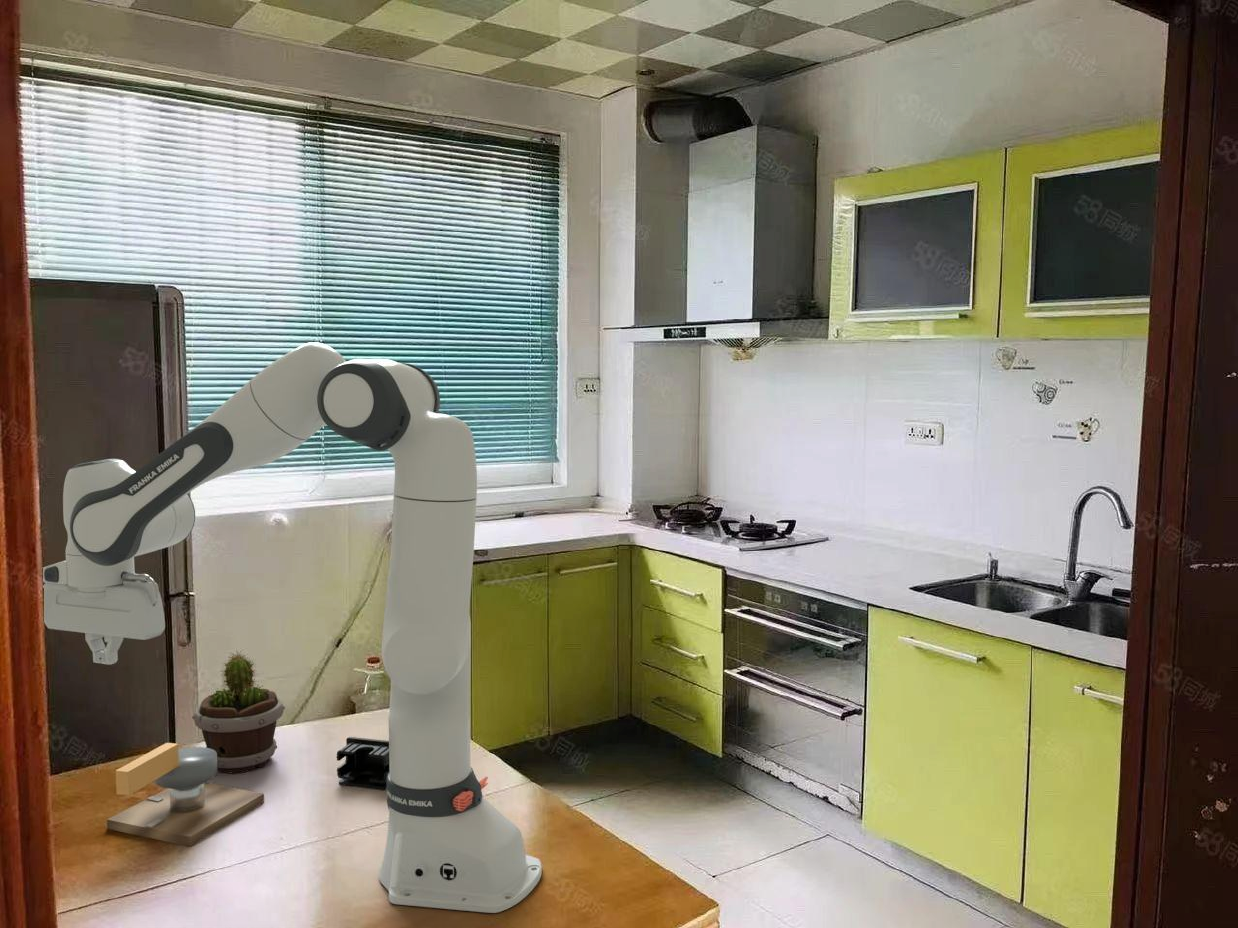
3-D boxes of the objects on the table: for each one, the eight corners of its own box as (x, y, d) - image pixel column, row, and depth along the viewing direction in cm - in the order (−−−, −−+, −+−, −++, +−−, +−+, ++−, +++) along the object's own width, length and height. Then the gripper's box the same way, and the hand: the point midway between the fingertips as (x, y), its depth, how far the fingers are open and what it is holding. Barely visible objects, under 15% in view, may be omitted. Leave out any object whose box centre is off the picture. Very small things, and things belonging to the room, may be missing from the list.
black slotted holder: (408, 774, 173) (407, 736, 172) (388, 791, 166) (388, 751, 166) (356, 768, 175) (355, 731, 175) (335, 785, 169) (334, 746, 168)
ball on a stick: (180, 762, 162) (178, 723, 161) (229, 767, 160) (228, 728, 159) (96, 811, 144) (94, 768, 143) (151, 818, 142) (149, 773, 141)
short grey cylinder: (212, 801, 158) (210, 774, 158) (188, 815, 153) (187, 786, 153) (187, 797, 160) (186, 770, 159) (162, 810, 155) (161, 782, 155)
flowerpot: (282, 774, 173) (278, 661, 171) (187, 782, 169) (182, 667, 167) (289, 744, 187) (286, 639, 185) (202, 751, 183) (198, 644, 181)
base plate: (264, 802, 161) (263, 792, 161) (190, 846, 147) (189, 835, 146) (186, 787, 167) (185, 778, 167) (107, 828, 152) (106, 818, 152)
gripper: (173, 570, 145) (177, 663, 146) (68, 561, 152) (72, 650, 153) (138, 579, 139) (143, 676, 140) (30, 569, 146) (36, 661, 147)
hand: (105, 662), depth 147 cm, fingers closed
